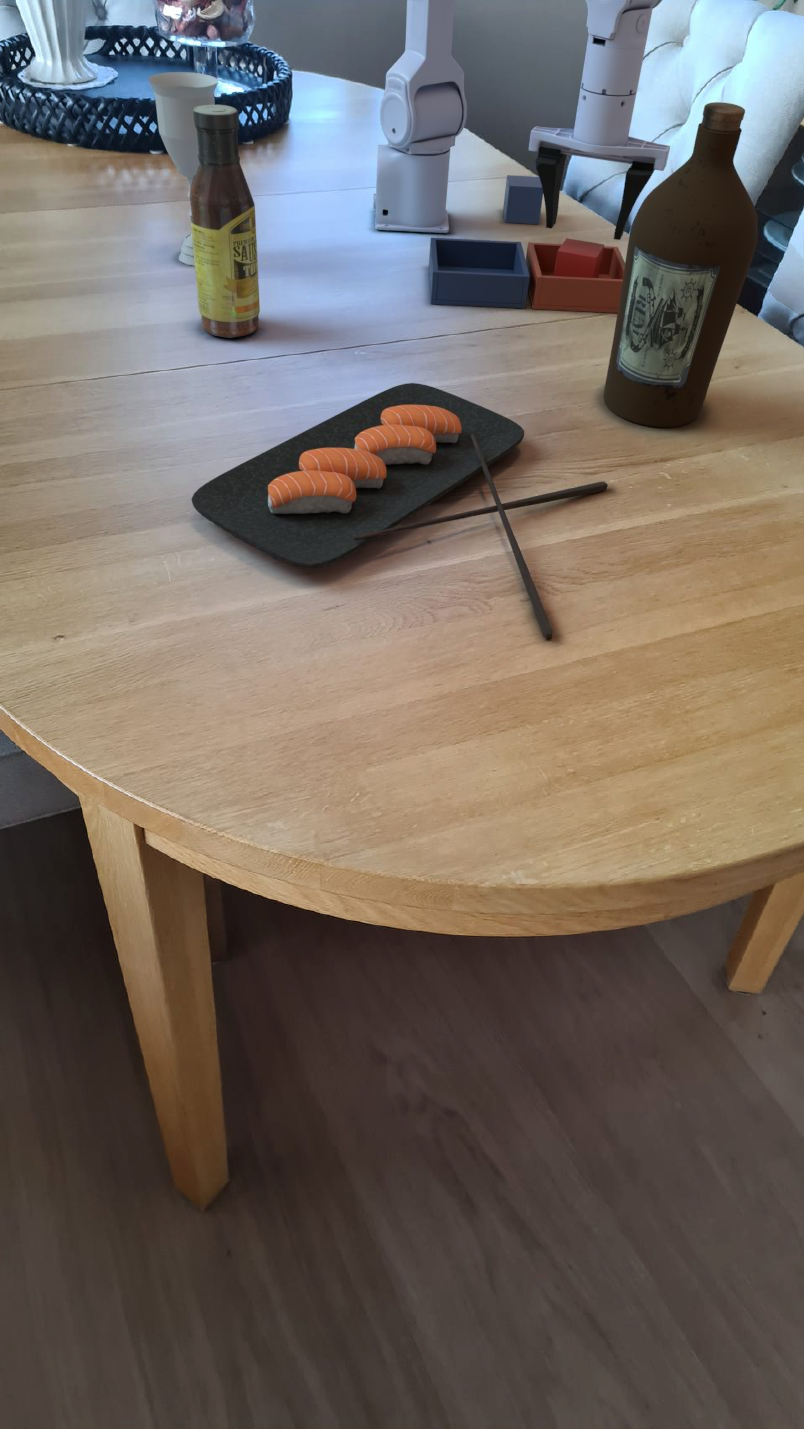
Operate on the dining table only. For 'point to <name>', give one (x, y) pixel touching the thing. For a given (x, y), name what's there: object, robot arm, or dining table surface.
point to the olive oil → (682, 280)
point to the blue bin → (478, 273)
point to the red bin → (573, 282)
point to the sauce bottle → (223, 228)
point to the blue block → (522, 199)
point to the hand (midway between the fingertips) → (584, 231)
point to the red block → (579, 259)
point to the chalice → (182, 125)
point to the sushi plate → (369, 479)
